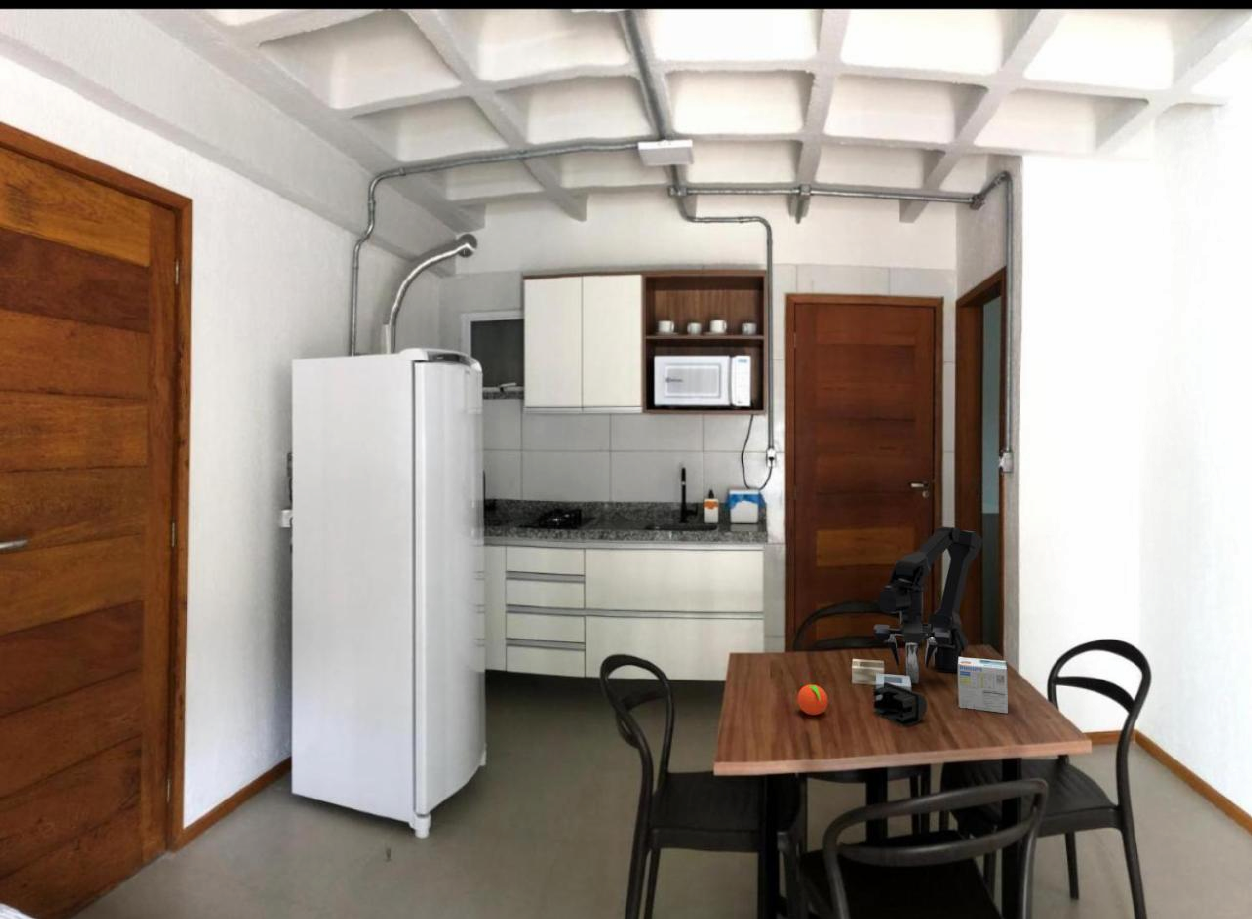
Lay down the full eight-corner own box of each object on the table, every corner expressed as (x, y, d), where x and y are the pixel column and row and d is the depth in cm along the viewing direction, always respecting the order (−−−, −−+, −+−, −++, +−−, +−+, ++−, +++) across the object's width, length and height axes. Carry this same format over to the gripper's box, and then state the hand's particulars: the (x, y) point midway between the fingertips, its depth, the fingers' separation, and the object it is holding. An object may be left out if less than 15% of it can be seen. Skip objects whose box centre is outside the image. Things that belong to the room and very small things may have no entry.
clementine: (835, 720, 167) (834, 690, 167) (806, 723, 166) (806, 692, 166) (820, 707, 175) (819, 678, 175) (793, 710, 174) (792, 680, 173)
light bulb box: (1007, 704, 174) (1006, 660, 174) (1008, 714, 168) (1008, 668, 167) (958, 698, 178) (957, 655, 178) (957, 708, 172) (957, 663, 172)
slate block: (909, 691, 184) (909, 676, 184) (911, 702, 176) (911, 686, 176) (876, 688, 187) (876, 673, 186) (876, 699, 179) (876, 683, 179)
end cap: (928, 721, 165) (927, 692, 165) (906, 728, 162) (905, 698, 162) (893, 707, 174) (892, 679, 174) (871, 713, 171) (871, 685, 170)
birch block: (884, 675, 196) (883, 661, 196) (884, 685, 189) (884, 670, 189) (853, 673, 199) (852, 658, 199) (852, 683, 191) (852, 668, 191)
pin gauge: (918, 680, 192) (917, 643, 192) (918, 684, 189) (918, 646, 189) (905, 679, 193) (905, 642, 193) (906, 683, 190) (905, 645, 190)
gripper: (873, 613, 186) (874, 673, 186) (953, 617, 180) (953, 679, 180) (873, 603, 197) (874, 660, 197) (948, 607, 190) (949, 665, 191)
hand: (912, 666), depth 191 cm, fingers open, 7 cm apart
